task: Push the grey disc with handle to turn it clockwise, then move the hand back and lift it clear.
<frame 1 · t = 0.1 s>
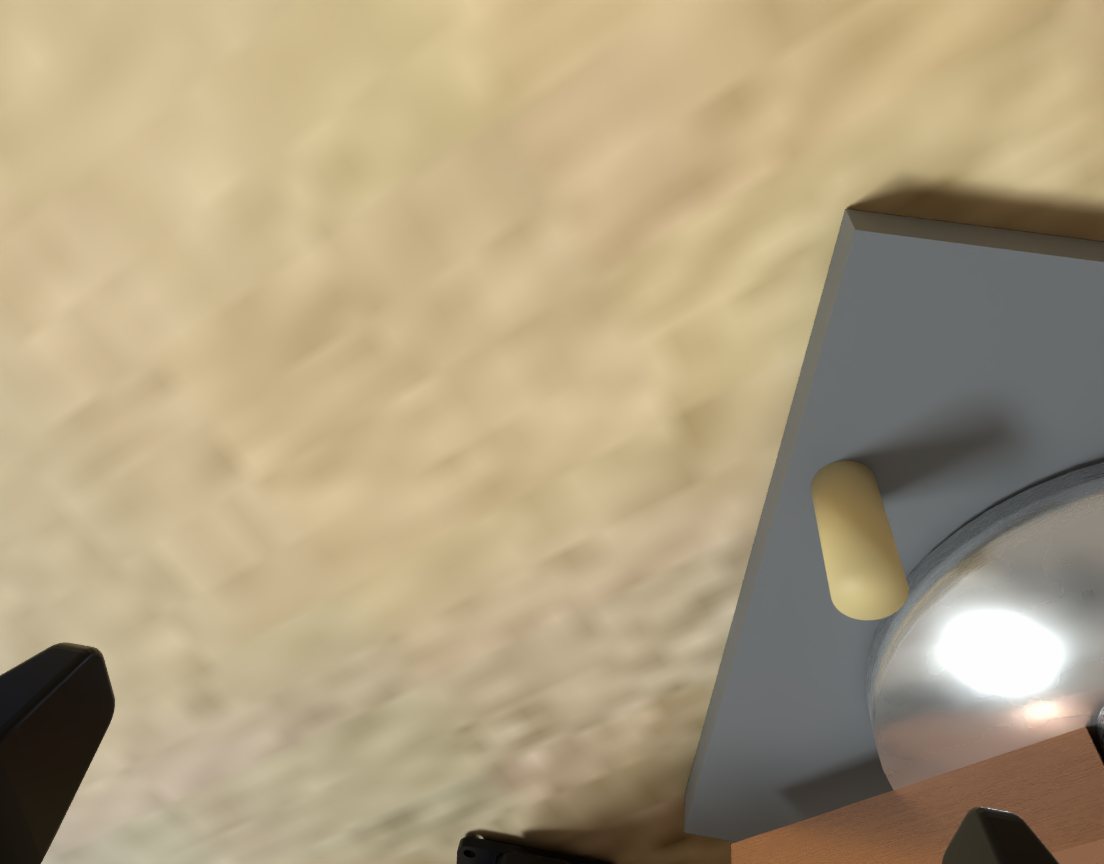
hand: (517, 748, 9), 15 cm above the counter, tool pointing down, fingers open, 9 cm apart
grey disc with handle: (1082, 780, 23), point 4 cm above the counter, hinge at 0.0°
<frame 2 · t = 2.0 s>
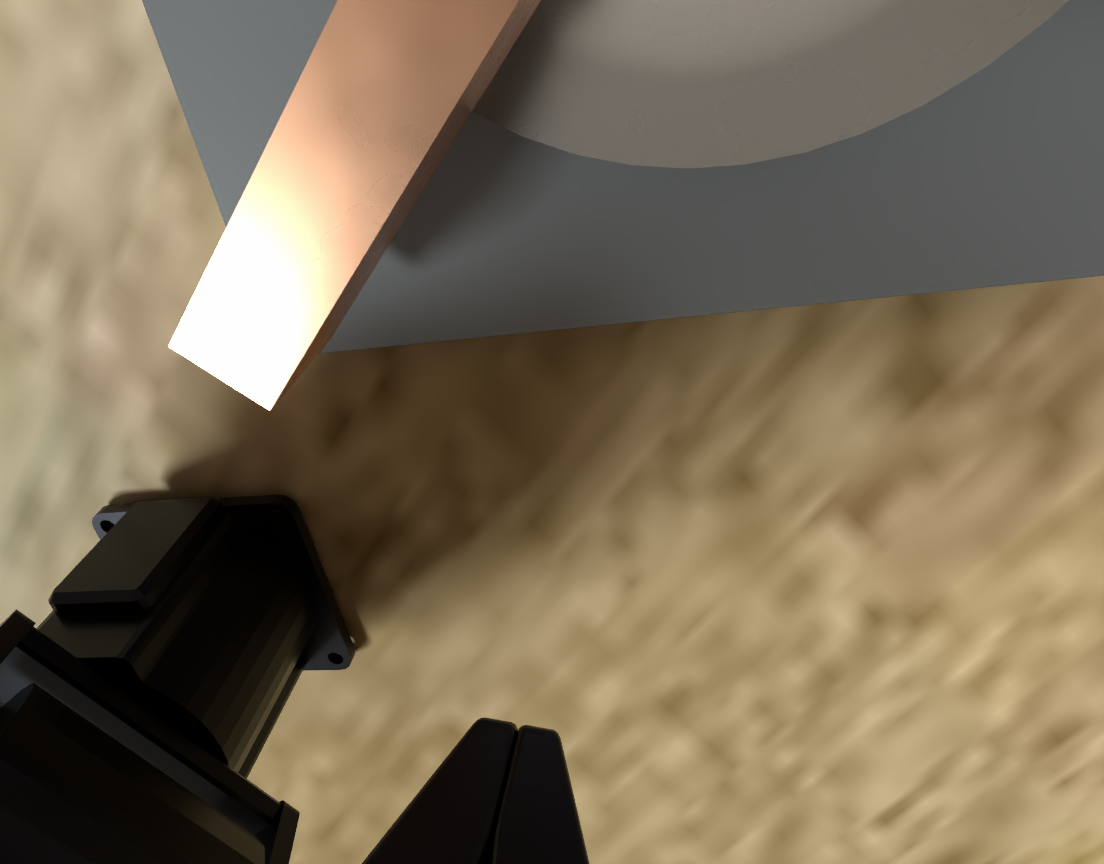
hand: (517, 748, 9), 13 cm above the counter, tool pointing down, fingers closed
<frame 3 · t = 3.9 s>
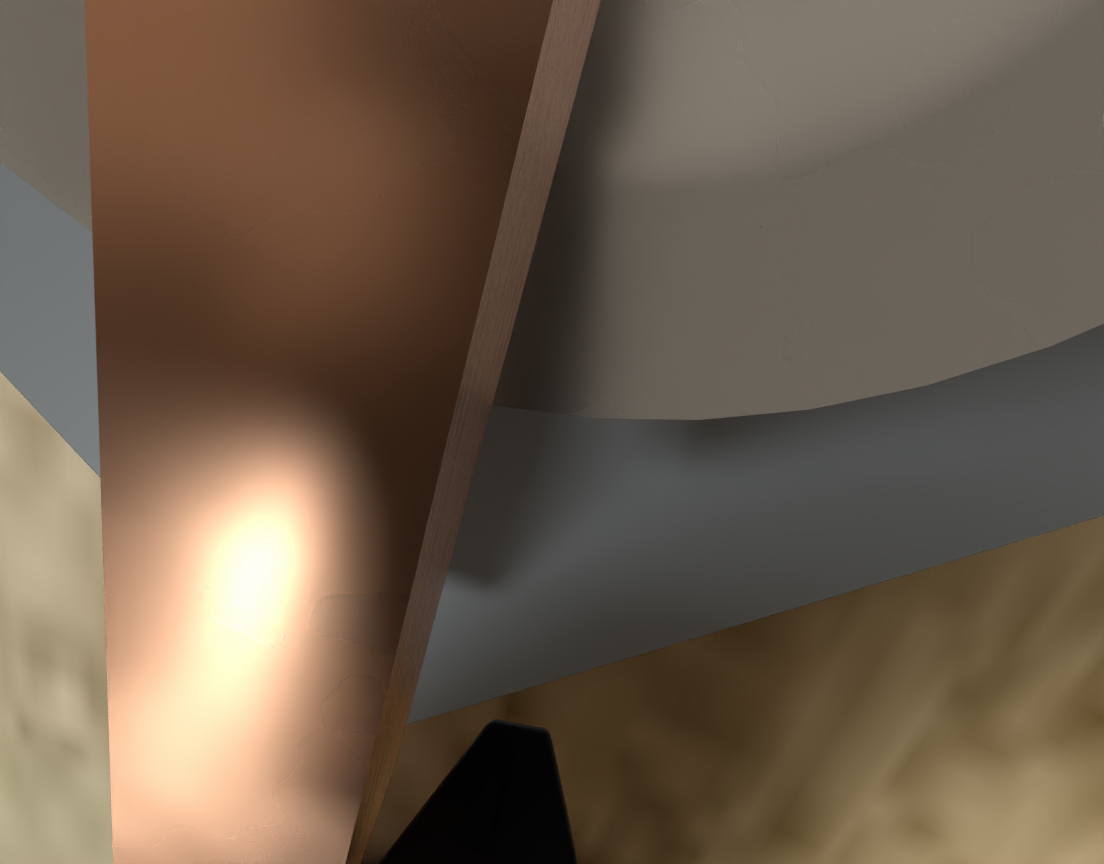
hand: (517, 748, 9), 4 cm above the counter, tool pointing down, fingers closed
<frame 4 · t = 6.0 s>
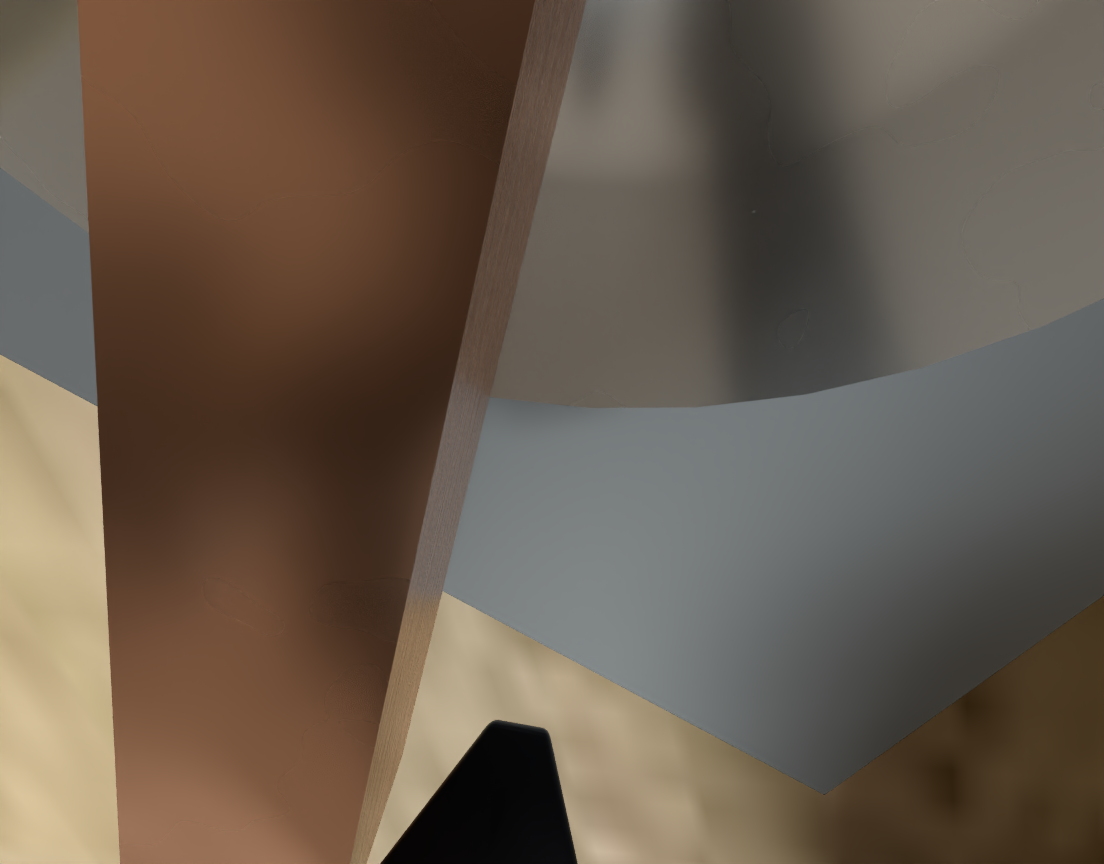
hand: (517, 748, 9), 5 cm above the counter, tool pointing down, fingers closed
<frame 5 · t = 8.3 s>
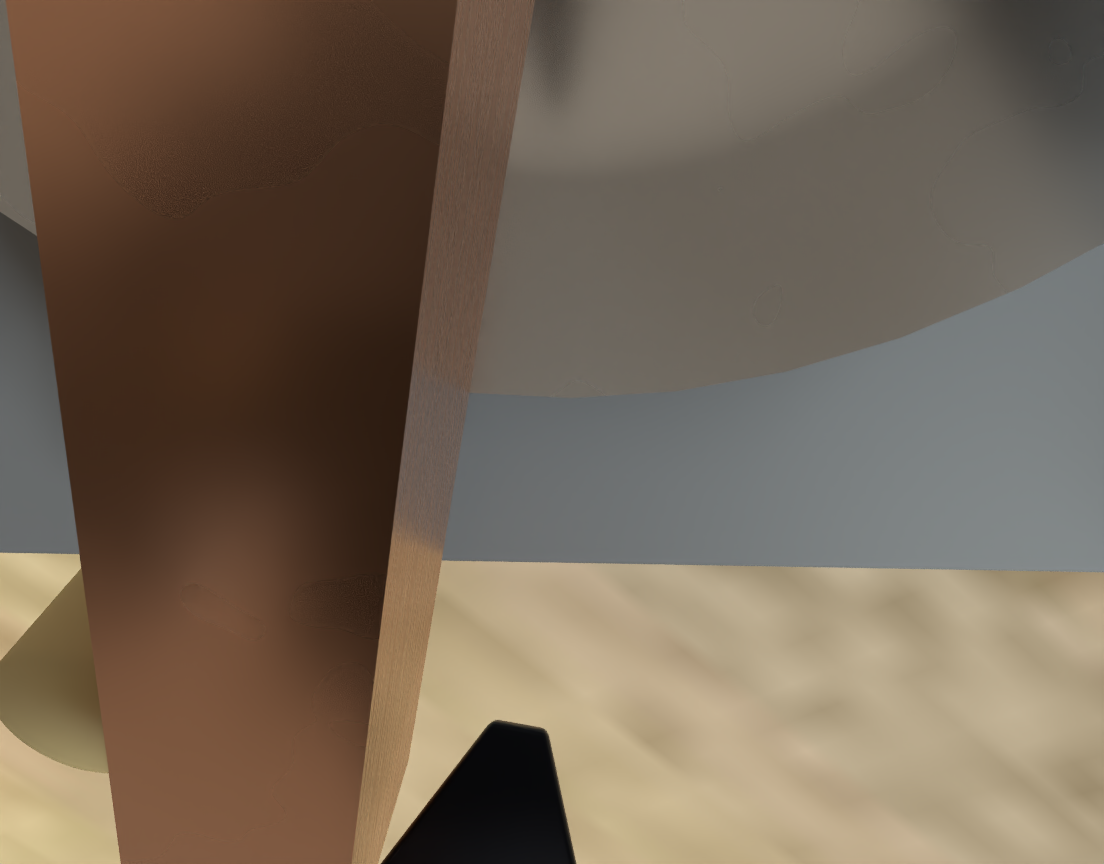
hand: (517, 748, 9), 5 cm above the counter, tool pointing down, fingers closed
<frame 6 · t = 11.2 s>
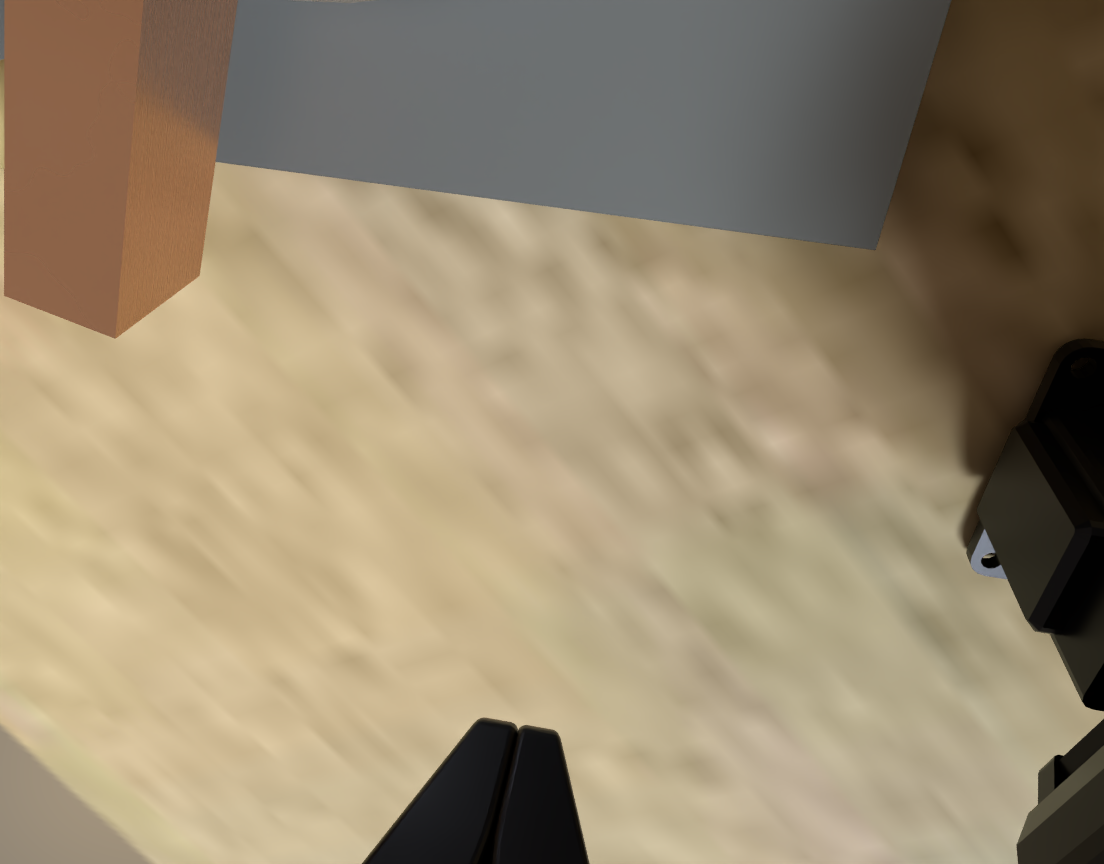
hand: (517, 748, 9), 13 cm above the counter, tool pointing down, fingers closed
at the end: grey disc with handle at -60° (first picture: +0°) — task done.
